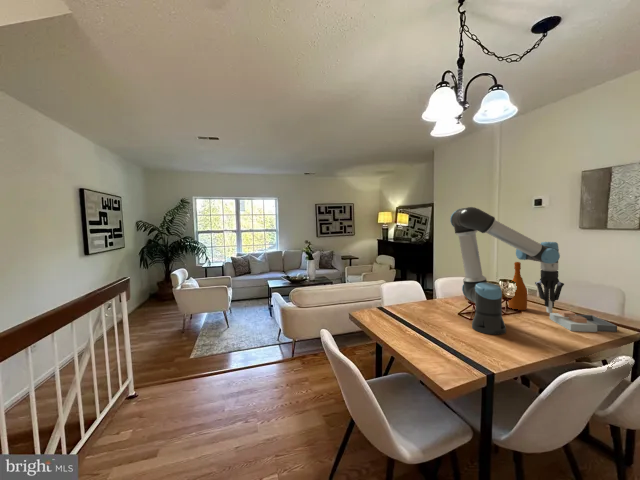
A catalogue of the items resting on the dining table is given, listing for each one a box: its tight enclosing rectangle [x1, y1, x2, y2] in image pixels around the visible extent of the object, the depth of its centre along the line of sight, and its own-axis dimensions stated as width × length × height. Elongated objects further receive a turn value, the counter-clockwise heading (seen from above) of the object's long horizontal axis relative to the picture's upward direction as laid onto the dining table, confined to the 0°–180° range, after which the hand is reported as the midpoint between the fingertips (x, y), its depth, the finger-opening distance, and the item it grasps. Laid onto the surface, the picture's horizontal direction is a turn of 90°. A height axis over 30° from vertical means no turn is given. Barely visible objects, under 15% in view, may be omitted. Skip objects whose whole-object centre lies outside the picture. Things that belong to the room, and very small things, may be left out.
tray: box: [576, 314, 618, 333], centre depth 143 cm, size 8×16×3 cm, turn 167°
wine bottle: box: [507, 261, 528, 311], centre depth 174 cm, size 10×10×30 cm
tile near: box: [569, 315, 587, 323], centre depth 141 cm, size 5×5×2 cm
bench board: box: [549, 312, 598, 333], centre depth 144 cm, size 11×18×4 cm, turn 167°
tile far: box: [558, 309, 576, 317], centre depth 149 cm, size 5×5×2 cm
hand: (549, 312), depth 151 cm, fingers closed
